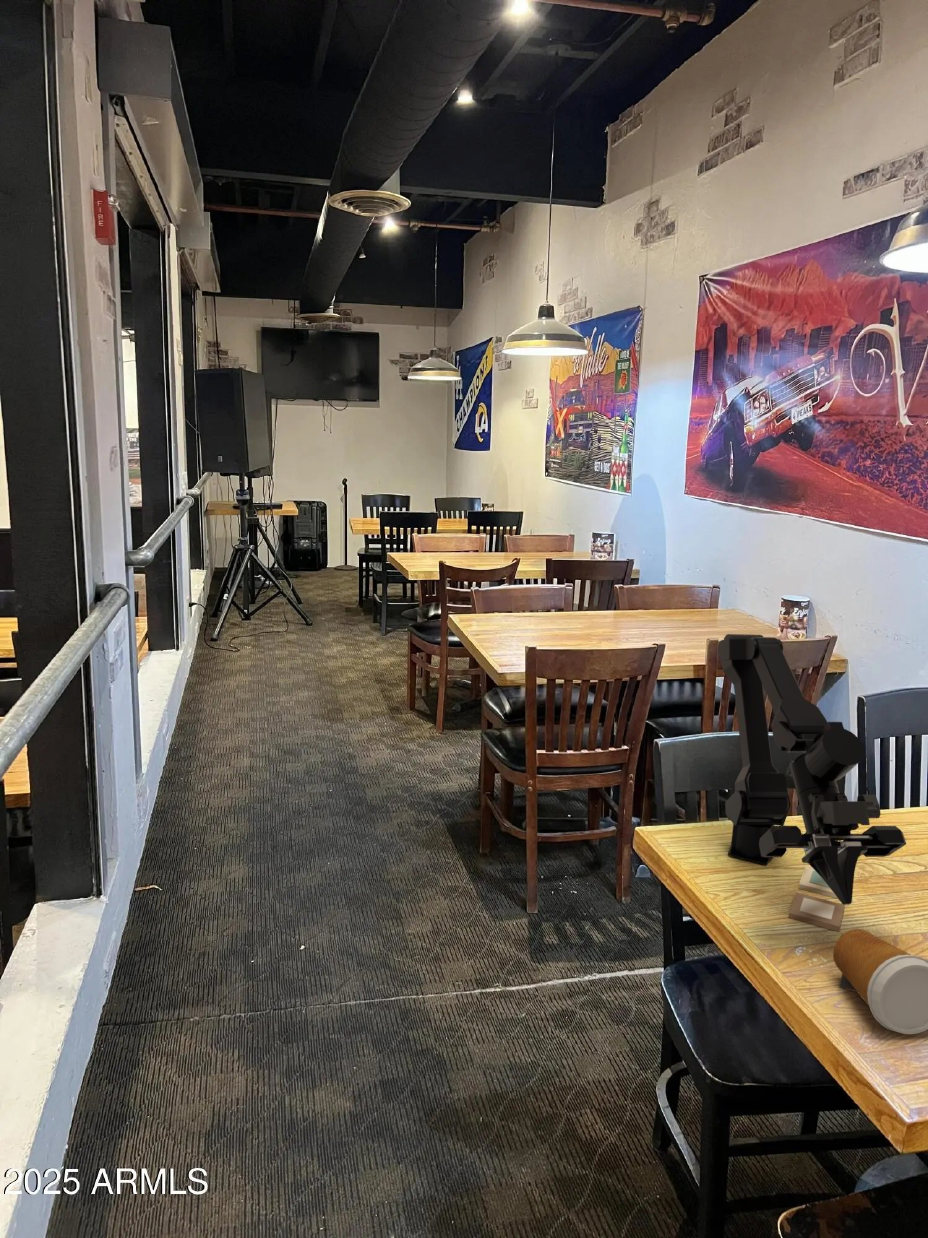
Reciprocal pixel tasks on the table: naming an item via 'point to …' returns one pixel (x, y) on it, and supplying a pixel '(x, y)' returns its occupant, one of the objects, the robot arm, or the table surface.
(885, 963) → the disposable coffee cup
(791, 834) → the robot arm
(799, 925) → the table surface
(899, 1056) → the table surface
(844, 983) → the black coaster
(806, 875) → the birch marker tile
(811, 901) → the walnut marker tile
